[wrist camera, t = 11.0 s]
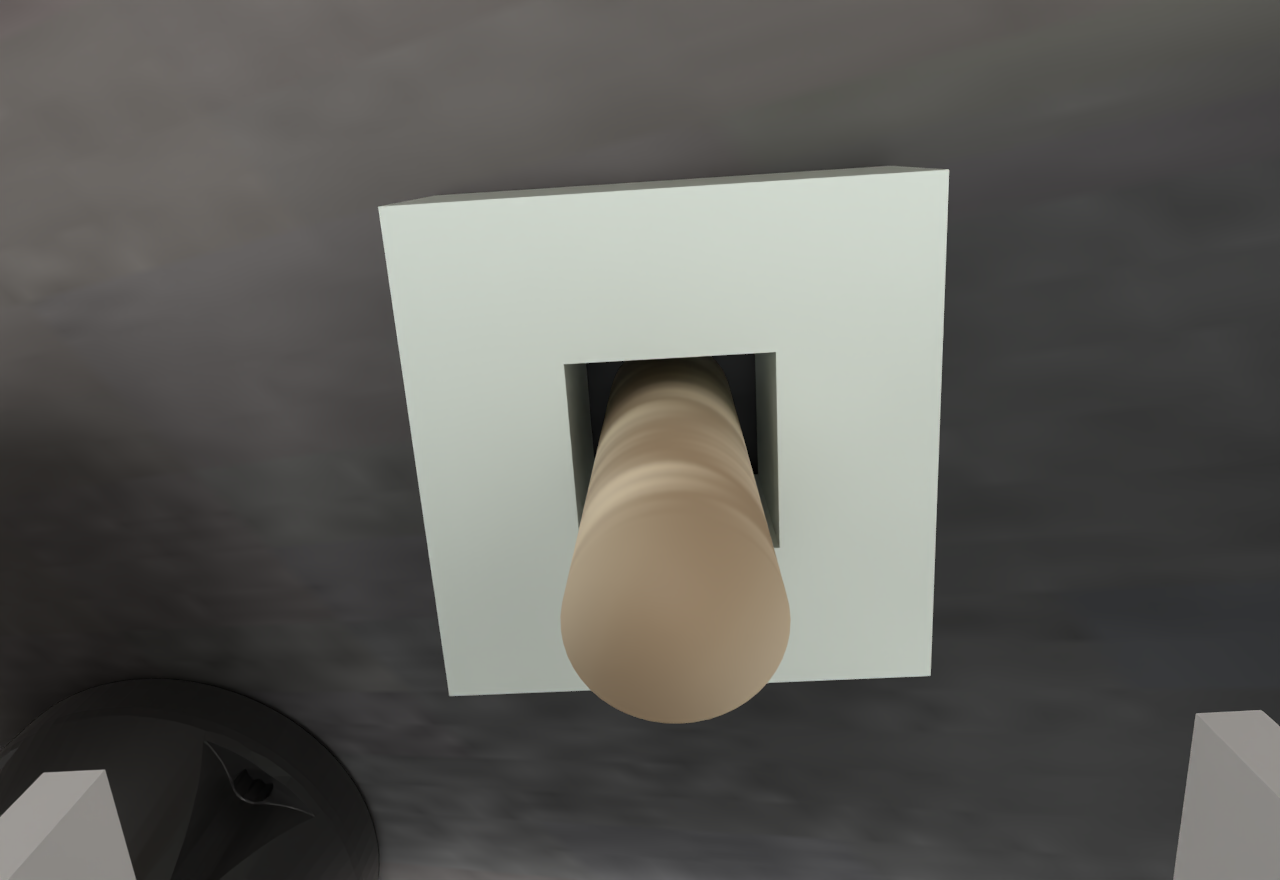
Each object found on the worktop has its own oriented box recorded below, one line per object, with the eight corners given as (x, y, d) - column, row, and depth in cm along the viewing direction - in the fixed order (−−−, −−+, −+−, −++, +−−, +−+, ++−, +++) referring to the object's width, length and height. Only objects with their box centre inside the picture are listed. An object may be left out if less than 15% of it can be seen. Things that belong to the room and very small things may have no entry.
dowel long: (614, 460, 31) (570, 727, 17) (605, 344, 30) (550, 523, 15) (733, 455, 31) (792, 718, 16) (728, 337, 29) (789, 512, 15)
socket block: (486, 600, 33) (449, 696, 27) (435, 195, 28) (378, 206, 23) (882, 581, 32) (930, 675, 26) (890, 165, 28) (949, 169, 22)
